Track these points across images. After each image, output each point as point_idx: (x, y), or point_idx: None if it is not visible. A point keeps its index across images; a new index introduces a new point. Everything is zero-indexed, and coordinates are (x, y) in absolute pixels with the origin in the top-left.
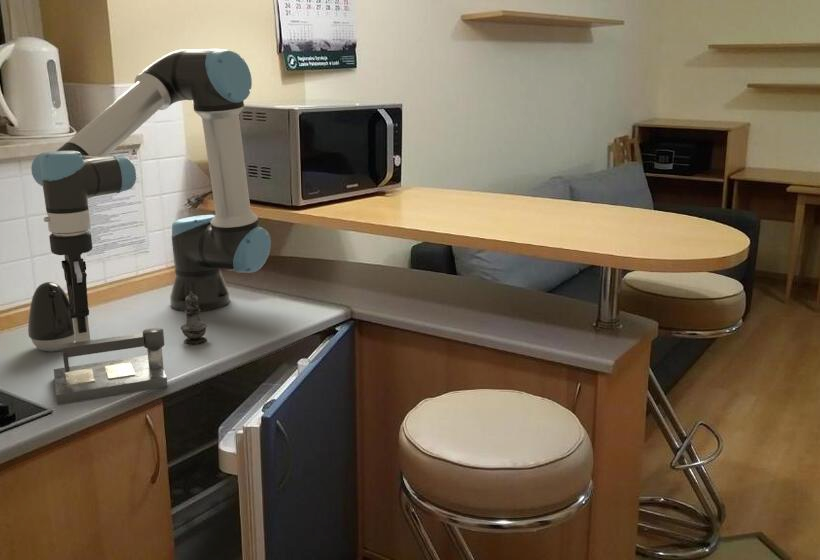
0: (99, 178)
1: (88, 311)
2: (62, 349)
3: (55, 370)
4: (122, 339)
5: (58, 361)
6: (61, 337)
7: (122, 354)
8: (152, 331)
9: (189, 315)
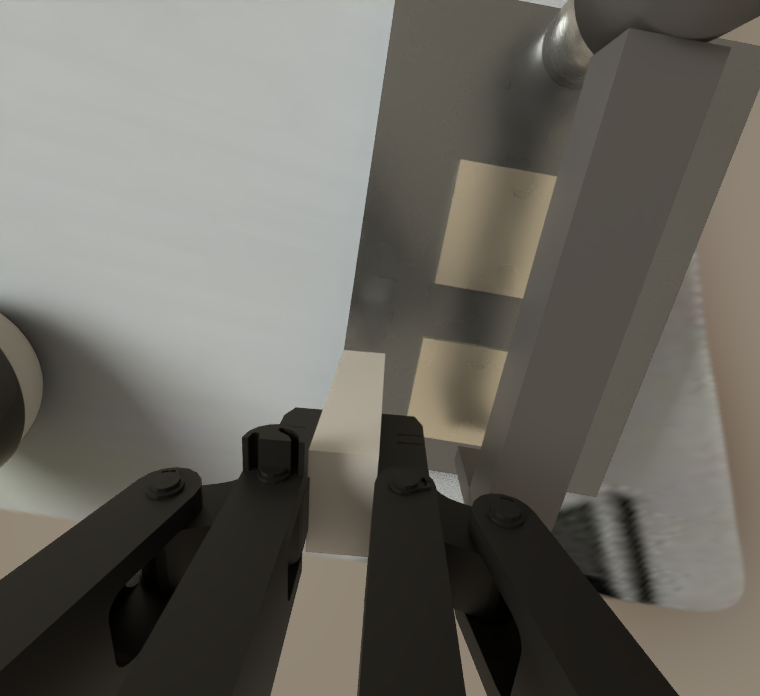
0: None
1: (520, 521)
2: None
3: None
4: (659, 225)
5: (157, 385)
6: (13, 380)
7: (190, 131)
8: None
9: None
